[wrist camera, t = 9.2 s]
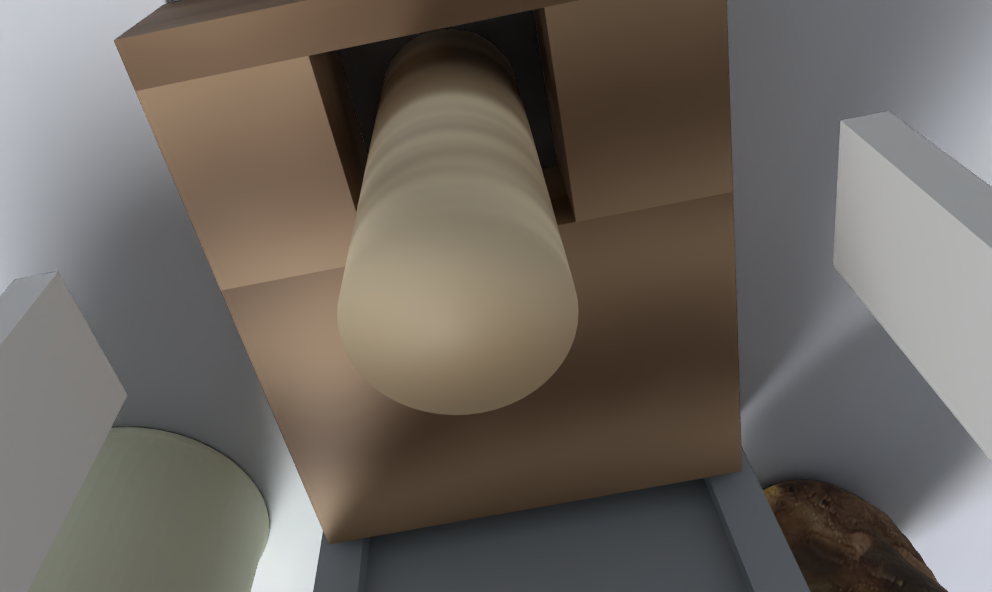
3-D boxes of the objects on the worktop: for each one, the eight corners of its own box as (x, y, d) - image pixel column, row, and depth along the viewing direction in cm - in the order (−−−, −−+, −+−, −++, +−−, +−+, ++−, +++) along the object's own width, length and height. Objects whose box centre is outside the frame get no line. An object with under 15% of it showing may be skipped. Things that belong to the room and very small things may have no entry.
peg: (365, 44, 23) (305, 239, 12) (505, 15, 23) (559, 188, 12) (400, 174, 25) (373, 432, 15) (529, 148, 25) (592, 392, 14)
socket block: (164, 4, 22) (113, 40, 18) (678, -104, 21) (723, -88, 18) (341, 462, 31) (328, 544, 27) (707, 395, 30) (742, 471, 27)
